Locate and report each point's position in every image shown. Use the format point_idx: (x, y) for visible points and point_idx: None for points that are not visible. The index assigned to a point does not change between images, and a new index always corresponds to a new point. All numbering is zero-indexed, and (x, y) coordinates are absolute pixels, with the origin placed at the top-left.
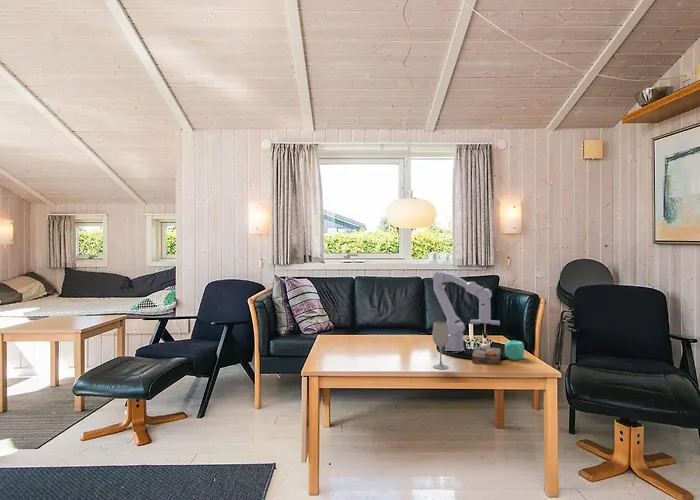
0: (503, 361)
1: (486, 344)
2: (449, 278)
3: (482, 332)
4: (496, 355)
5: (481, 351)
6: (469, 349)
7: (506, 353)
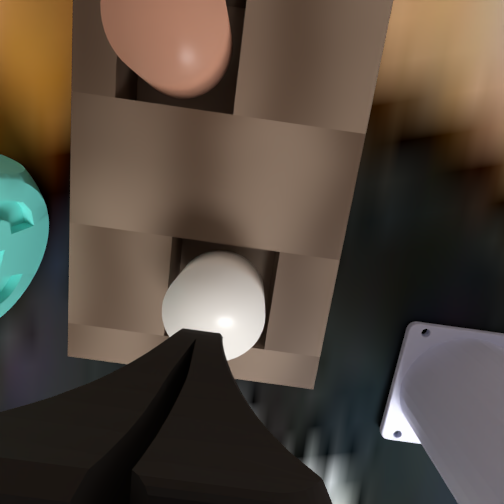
0: None
1: None
2: None
3: (233, 380)
4: None
5: (266, 197)
6: (334, 447)
7: (10, 169)
